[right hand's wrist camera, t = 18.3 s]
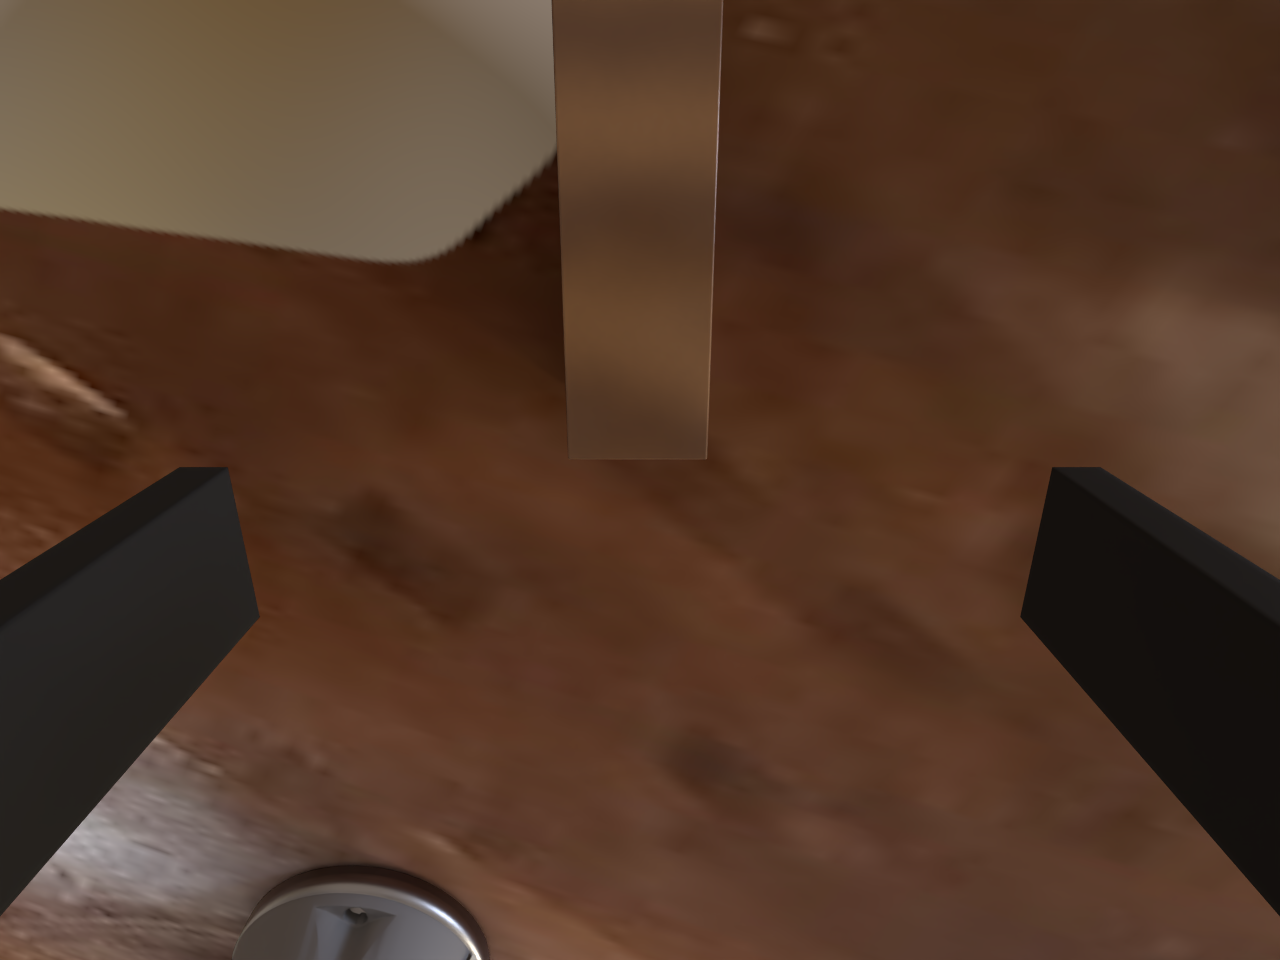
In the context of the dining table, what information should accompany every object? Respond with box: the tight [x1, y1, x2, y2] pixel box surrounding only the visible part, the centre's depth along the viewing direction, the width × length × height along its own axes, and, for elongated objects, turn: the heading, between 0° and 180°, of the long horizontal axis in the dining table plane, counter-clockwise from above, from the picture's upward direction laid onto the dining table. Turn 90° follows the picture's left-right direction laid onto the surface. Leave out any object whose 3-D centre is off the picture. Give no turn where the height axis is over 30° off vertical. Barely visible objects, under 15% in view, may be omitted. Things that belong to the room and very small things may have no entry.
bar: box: [552, 0, 723, 459], centre depth 27 cm, size 24×5×8 cm, turn 0°
